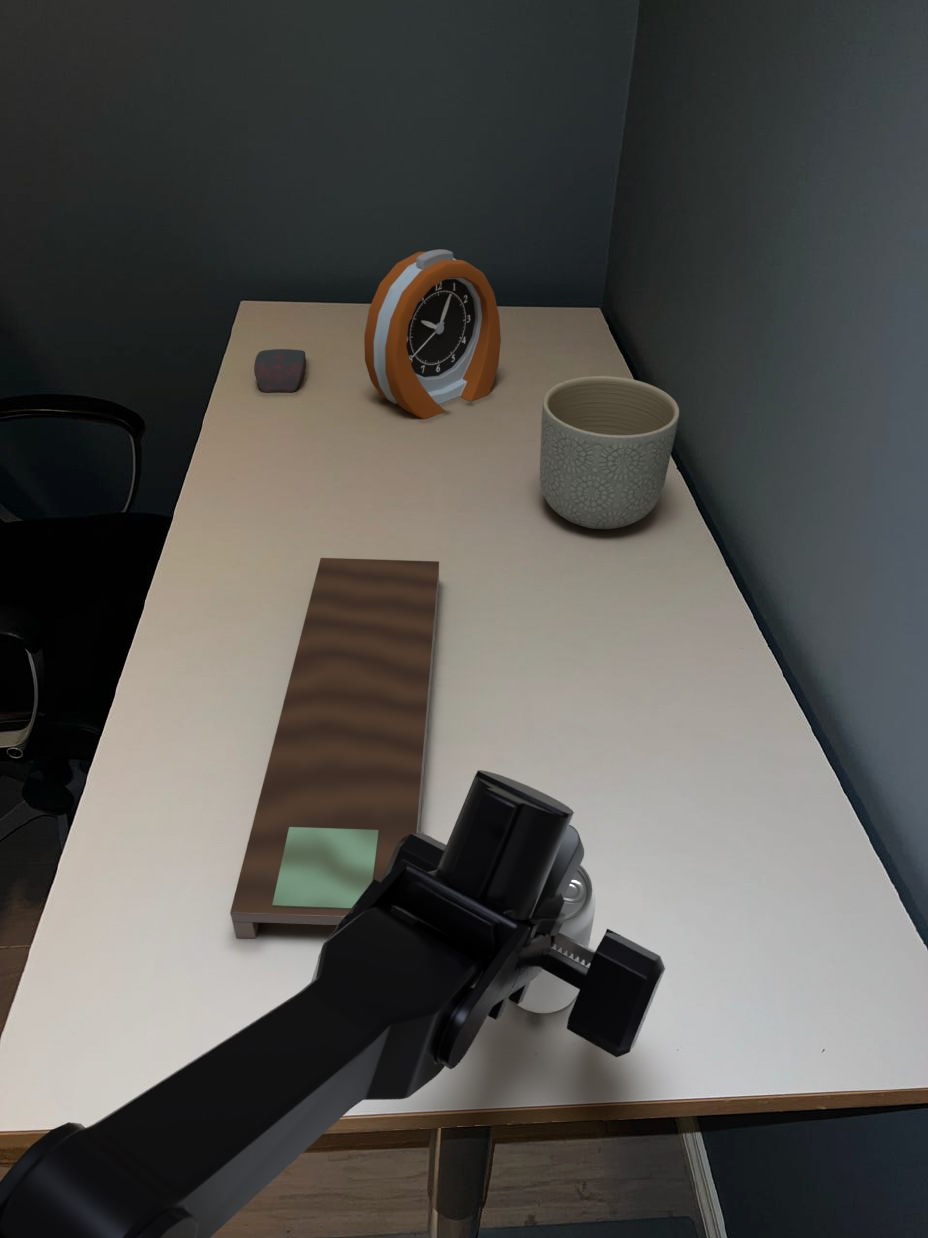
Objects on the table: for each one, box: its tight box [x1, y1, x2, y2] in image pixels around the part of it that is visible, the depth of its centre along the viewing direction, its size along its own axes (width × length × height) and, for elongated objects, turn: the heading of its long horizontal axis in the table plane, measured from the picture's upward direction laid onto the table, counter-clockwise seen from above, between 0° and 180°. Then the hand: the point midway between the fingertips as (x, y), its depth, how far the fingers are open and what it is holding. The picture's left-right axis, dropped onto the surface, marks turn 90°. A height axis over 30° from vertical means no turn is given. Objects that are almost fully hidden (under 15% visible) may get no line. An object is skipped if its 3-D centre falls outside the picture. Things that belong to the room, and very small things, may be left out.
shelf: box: [229, 557, 440, 939], centre depth 91 cm, size 48×14×4 cm, turn 178°
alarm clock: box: [363, 248, 502, 420], centre depth 143 cm, size 22×10×23 cm, turn 132°
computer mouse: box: [253, 348, 306, 393], centre depth 154 cm, size 8×14×4 cm, turn 3°
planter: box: [539, 375, 680, 530], centre depth 120 cm, size 17×17×15 cm
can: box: [514, 864, 596, 1014], centre depth 68 cm, size 6×6×12 cm
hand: (547, 919), depth 67 cm, fingers open, 9 cm apart
